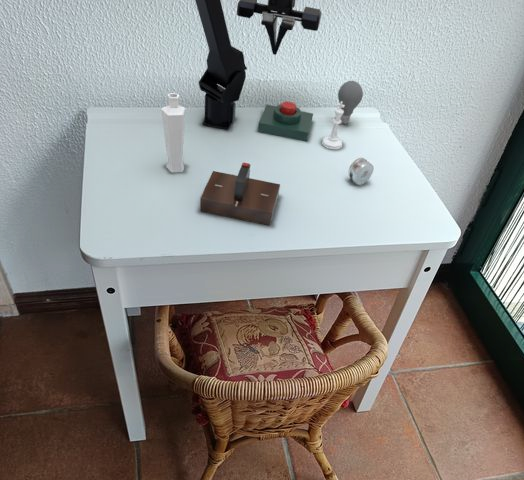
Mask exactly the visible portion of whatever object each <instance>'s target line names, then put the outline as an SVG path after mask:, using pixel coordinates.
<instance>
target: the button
mask: <svg viewBox="0 0 524 480" xmlns="http://www.w3.org/2000/svg"><path fill="white" fill-rule="evenodd" d="M280 104H281V110H280V112H281V113H283V114H286V115H294V114H295V111H296V107H297V105H296V103H294V102H292V101H282V102H281V103H280Z"/></svg>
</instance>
